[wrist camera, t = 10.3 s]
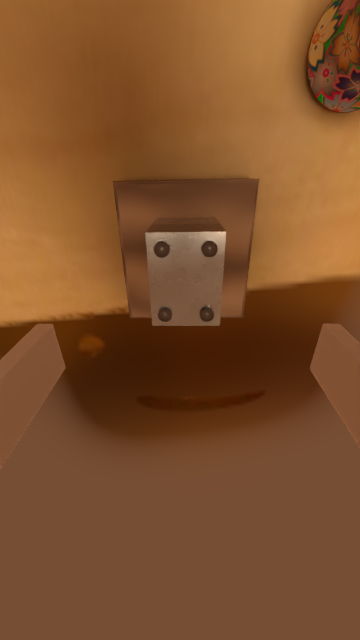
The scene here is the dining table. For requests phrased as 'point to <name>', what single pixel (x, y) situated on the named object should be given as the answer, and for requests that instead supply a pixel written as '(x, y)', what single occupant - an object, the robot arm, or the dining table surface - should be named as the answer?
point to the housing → (185, 271)
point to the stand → (186, 202)
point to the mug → (337, 57)
